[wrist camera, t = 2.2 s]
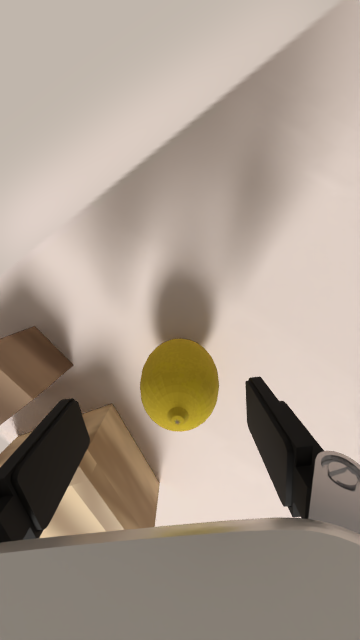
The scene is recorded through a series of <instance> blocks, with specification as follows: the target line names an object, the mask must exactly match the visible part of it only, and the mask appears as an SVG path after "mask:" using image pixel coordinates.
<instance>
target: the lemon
mask: <svg viewBox="0 0 360 640" xmlns="http://www.w3.org/2000/svg"><path fill="white" fill-rule="evenodd" d="M140 390H141V399H142V403H143V406H144V408H145V410H146V412H147V414H148V415H149V416H150V418H151V419H152V420H153V421H154V422H155V423H157V424H158V425H159V426H161V427H163V428H165V429H167V430H171V431H188V430H191V429H193V428H196V427H198V426H199V425H200V424H202V423H203V422H205V421H206V419H207V418H208V417H209V416H210V415H211V413H212V411H213V409H214V407H215V405H216V402H217V396H218V390H219V381H218V373H217V369H216V366H215V364H214V362H213V359H212V357H211V356H210V355H209V353H208V352H207V351H206V350H205V349H204V348H203V347H202V346H200V345H199V344H198V343H196V342H194V341H191V340H188V339H172V340H169V341H166V342H164V343H162V344H161V345H159V346H158V347H157V348H156V349H155V350H154V351H153V352H152V353H151V354H150V355H149V357H148V359H147V361H146V363H145V365H144V367H143V370H142V376H141V382H140Z"/></svg>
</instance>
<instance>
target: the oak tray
mask: <svg viewBox="0 0 360 640" xmlns="http://www.w3.org/2000/svg"><path fill="white" fill-rule="evenodd" d="M82 416H83V419H84V422H85V425H86V428H87V431H88V434H89V437H90V444H89V447H88V449H87V451H86V453H85V455H84V457H83V459H82V461H81V463H80V465H79V466H78V468H77V470H76V472H75V474H74V476H73V478H72V480H71V482H70V484H69V486H68V488H67V490H66V492H65V494H64V496H63V498H62V500H61V502H60V504H59V506H58V508H57V510H56V512H55V514H54V516H53V518H52V520H51V521H50V523H49V525H48V527H47V528H46V529H44V530H43V532H42V534H41V536H40V538H47V537H56V536H66V535H76V534H86V533H97V532H107V531H118V530H128V529H139V528H150V527H154V526H155V518H156V509H157V501H158V493H159V482H158V480H157V478H156V477H155V475H154V473H153V472H152V470H151V468H150V467H149V465H148V463H147V462H146V460H145V458H144V456H143V455H142V453H141V451H140V450H139V448H138V446H137V445H136V443H135V441H134V440H133V438H132V436H131V435H130V433H129V431H128V429H127V428H126V426H125V424H124V423H123V421H122V419H121V418H120V416H119V414H118V413H117V411H116V409H115V407H114V406H113V404H110V405H107V406H104V407H101V408H98V409H96V410H93V411H90V412H87V413H84V414H82ZM31 433H32V432H30V433H27V434H24V435H21V436H18V437H17V438H16V439H15V440H14V441H13V442H12V443H11V444H10V445H9V446H8V447H7V448H6V449H5V450H4V451H3V452H2V453H1V454H0V467H1V466H2V465H3V464H4V463H5V462H6V460H7V459H8V458H9V457H10V456H11V455H12V454H13V453H14V452H15V450H16V449H17V448H18V447H19V446H20V445H21V444H22V443H23V442H24V440H25V439H26V438H27V437H28V436H29V435H30V434H31Z"/></svg>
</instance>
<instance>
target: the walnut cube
mask: <svg viewBox="0 0 360 640" xmlns="http://www.w3.org/2000/svg"><path fill="white" fill-rule="evenodd" d="M72 366H73V364H72V363H71V362H70V361H69V360H68V359H67V358H66V357H65V356H64V355H63V354H62V353H61V352H60V351H59V350H58V349H57V348H56V347H55V346H54V345H53V344H52V343H51V342H50V341H49V340H48V339H47V338H46V337H45V336H44V335H43V334H42V333H41V332H40V331H39V330H38V329H37V328H36V327H35V326H34V327H31V328H28V329H26V330H23V331H20V332H18V333H15V334H12V335H9V336H7V337H4V338H1V339H0V425H1V424H2V423H3V422H5V421H6V420H7V419H9V418H10V417H11V416H13V415H14V414H15V413H16V412H18V411H19V410H20V409H22V408H23V407H24V406H25V405H27V404H28V403H29V402H31V401H32V400H33V399H34V398H36V397H37V396H38V395H39V394H40V393H41V392H43V391H44V390H45V389H46V388H47V387H48V386H50V385H51V384H52V383H53V382H54V381H56V380H57V379H58V378H59V377H60V376H61V375H63V374H64V373H65V372H66V371H67V370H69V369H70V368H71V367H72Z"/></svg>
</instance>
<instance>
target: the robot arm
mask: <svg viewBox="0 0 360 640" xmlns="http://www.w3.org/2000/svg"><path fill="white" fill-rule="evenodd" d="M246 405H247V423H248V427H249V430H250V432H251V434H252V437H253V439H254V441H255V444H256V446H257V448H258V450H259V453H260V455H261V457H262V459H263V462H264V464H265V466H266V469H267V471H268V473H269V475H270V478H271V480H272V482H273V484H274V487H275V489H276V491H277V494H278V496H279V498H280V500H281V502H282V504H283V506H284V507H285V506H288V508H289V510H290V512H291V515H292V517H301V518H260V519H245V520H229V521H217V522H206V523H195V524H183V525H172V526H160V527H150V528H139V529H128V530H118V531H107V532H97V533H86V534H76V535H66V536H56V537H47V538H40V536H41V534H42V532H43V530H44V529H46V528H47V527H48V525H49V523H50V521H51V520H52V518H53V516H54V514H55V512H56V510H57V508H58V506H59V504H60V502H61V500H62V498H63V496H64V494H65V492H66V490H67V488H68V486H69V484H70V482H71V480H72V478H73V476H74V474H75V472H76V470H77V468H78V466H79V465H80V463H81V461H82V459H83V457H84V455H85V453H86V451H87V449H88V447H89V444H90V437H89V434H88V431H87V428H86V425H85V422H84V419H83V416H82V413H81V410H80V407H79V404H78V402H77V401H75V400H74V399H64V400H61V401H60V402H59V403H58V404H57V405H56V406H55V407H54V408H53V409H52V411H51V412H50V413H49V414H48V415H47V416H46V417H45V418H44V419H43V421H42V422H41V423H40V424H39V425H38V426H37V427H36V428H35V429H34V431H33V432H32V433H31V434H30V435H29V436H28V437H27V438H26V439H25V440H24V442H23V443H22V444H21V445H20V446H19V447H18V448H17V449H16V450H15V452H14V453H13V454H12V455H11V456H10V457H9V458H8V459H7V460H6V462H5V463H4V464H3V465H2V466H1V467H0V640H360V465H359V464H358V463H357V462H355V461H354V460H353V459H351V458H349V457H347V456H345V455H343V454H341V453H338V452H335V451H324V450H323V449H322V448H321V446H320V445H319V444H318V443H317V441H316V440H315V439H314V438H313V436H312V435H311V434H310V433H309V431H308V430H307V429H306V428H305V426H304V425H303V424H302V423H301V421H300V420H299V419H298V418H297V416H296V415H295V414H294V413H293V411H292V410H291V409H290V408H289V406H288V405H287V404H286V403H285V402H284V401H279V400H278V399H277V398H276V397H275V395H274V394H273V393H272V391H271V390H270V389H269V387H268V386H267V385H266V383H265V382H264V381H263V379H262V378H261V377H253V378H249V381H246Z"/></svg>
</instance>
